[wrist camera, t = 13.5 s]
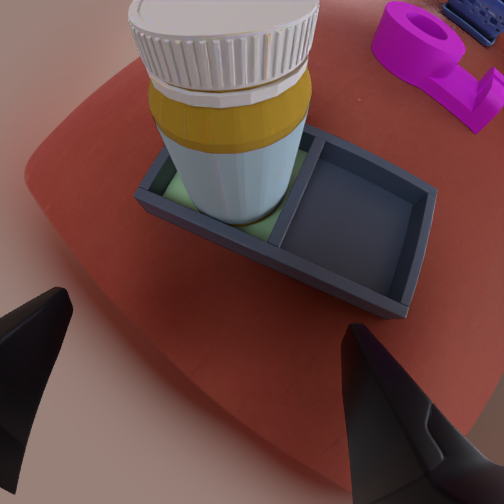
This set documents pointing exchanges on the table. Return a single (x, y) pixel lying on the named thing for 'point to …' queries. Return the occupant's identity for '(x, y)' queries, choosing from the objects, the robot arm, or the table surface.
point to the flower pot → (477, 18)
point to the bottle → (228, 96)
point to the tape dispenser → (436, 63)
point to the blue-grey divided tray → (323, 223)
